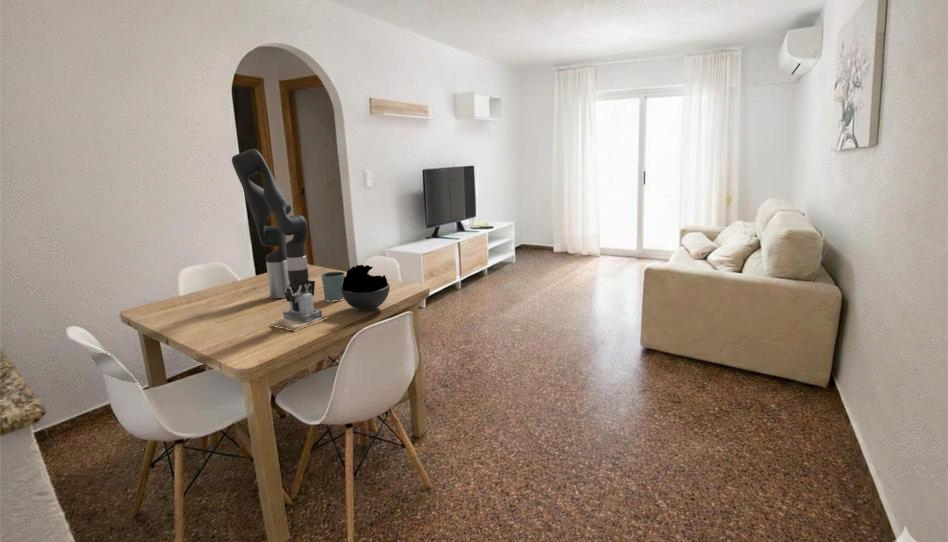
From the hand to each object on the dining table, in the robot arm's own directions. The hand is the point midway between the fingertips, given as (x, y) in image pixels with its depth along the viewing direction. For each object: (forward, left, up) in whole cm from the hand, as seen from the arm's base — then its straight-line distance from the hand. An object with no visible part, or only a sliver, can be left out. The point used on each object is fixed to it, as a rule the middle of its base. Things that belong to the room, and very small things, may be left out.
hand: (302, 309), depth 196 cm
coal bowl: (-23, +13, -5) cm, 27 cm away
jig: (+2, 0, -5) cm, 5 cm away
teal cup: (-28, -11, -5) cm, 30 cm away
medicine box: (0, 0, -3) cm, 3 cm away
